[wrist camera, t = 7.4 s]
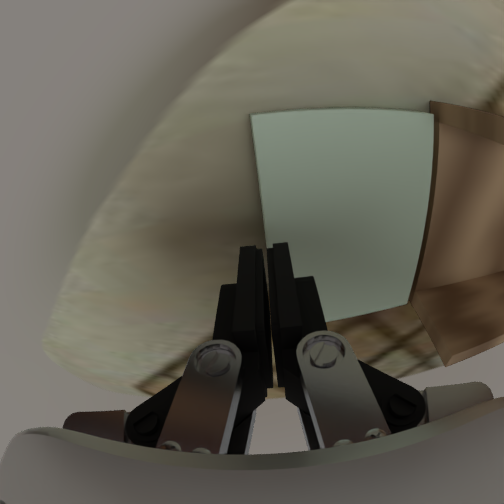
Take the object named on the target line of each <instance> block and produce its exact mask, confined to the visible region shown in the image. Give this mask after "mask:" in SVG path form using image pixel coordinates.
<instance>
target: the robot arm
mask: <svg viewBox="0 0 504 504" xmlns="http://www.w3.org/2000/svg"><path fill="white" fill-rule="evenodd" d="M267 260H268V277H269V296H270V307H269V299H268V291H267V283H266V275H265V267H264V259H263V252H262V249H256V245H254V246H245V247H240V254H239V264H238V275H237V283H236V284H225V285H222V286H221V289H220V295H219V301H218V307H217V314H216V320H215V326H214V333H213V340H211V341H208V342H205V343H203V344H201V345H200V346H198V347H197V348H196V349H195V350H194V351H193V352H192V354H191V356H190V358H189V360H188V363H187V365H186V368H185V370H184V373H183V376H181V377H180V378H178V379H177V380H176V381H174V382H173V383H171V384H170V385H168V386H167V387H166V388H164V389H163V390H161V391H160V392H158V393H157V394H155V395H154V396H152V397H151V398H149V399H148V400H146V401H145V402H143V403H142V404H140V405H139V406H137V407H136V408H135V409H134V410H132V411H131V412H126V411H125V410H114V411H93V412H76V413H72V414H71V415H69V416H68V417H67V419H66V420H65V422H64V425H63V429H62V428H55V427H38V428H31V429H27V430H24V431H21V432H19V433H17V434H16V435H15V436H14V437H13V438H12V440H11V441H10V442H9V444H8V446H7V448H6V450H5V452H4V455H3V457H2V459H1V462H0V504H504V397H500V398H496V399H494V398H493V394H492V392H491V390H490V388H489V387H488V386H487V385H486V384H483V383H482V382H470V383H463V384H455V385H447V386H437V387H426V389H425V390H424V391H418V390H416V389H414V388H413V387H412V386H409V385H407V384H405V383H403V382H401V381H399V380H397V379H395V378H393V377H391V376H389V375H387V374H385V373H383V372H381V371H379V370H377V369H375V368H373V367H371V366H369V365H367V364H365V363H363V362H362V361H360V360H358V359H357V358H356V356H355V354H354V352H353V350H352V348H351V346H350V344H349V342H348V341H347V340H346V338H344V337H343V336H341V335H340V334H338V333H335V332H332V331H328V330H327V326H326V322H325V318H324V314H323V310H322V306H321V302H320V298H319V294H318V290H317V287H316V283H315V279H314V277H313V276H307V277H298V278H294V273H293V268H292V262H291V257H290V252H289V246H288V242H283V243H273V248H267ZM270 315H271V323H270ZM271 330H272V339H273V347H274V355H275V364H276V372H277V380H278V387H285V396H286V399H287V400H288V401H289V402H291V403H293V404H294V405H295V406H297V410H298V414H299V418H300V421H301V425H302V429H303V433H304V436H305V440H306V444H307V447H308V451H302V452H292V453H278V454H257V455H248V453H249V448H250V443H251V438H252V433H253V428H254V423H255V417H256V408H257V407H258V406H260V405H261V404H262V403H263V402H264V401H265V397H267V388H273V368H272V345H271Z"/></svg>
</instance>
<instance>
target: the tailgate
mask: <svg viewBox="0 0 504 504" xmlns="http://www.w3.org/2000/svg"><path fill="white" fill-rule="evenodd" d="M249 115H250V122H251V129H252V137H253V144H254V152H255V159H256V167H257V174H258V182H259V190H260V198H261V206H262V214H263V222H264V230H265V239H266V247H267V248H273V243H283V242H288V246H289V252H290V257H291V262H292V268H293V273H294V278H298V277H307V276H313V277H314V279H315V283H316V287H317V290H318V294H319V298H320V302H321V306H322V310H323V314H324V318H325V322H329V321H334V320H339V319H344V318H349V317H354V316H358V315H363V314H367V313H372V312H376V311H380V310H385V309H389V308H393V307H397V306H401V305H405V304H407V302H408V298H409V295H410V291H411V287H412V283H413V279H414V275H415V271H416V267H417V263H418V258H419V254H420V249H421V244H422V239H423V233H424V228H425V222H426V215H427V209H428V201H429V193H430V184H431V174H432V161H433V141H434V114H430V113H426V112H421V111H414V110H402V109H387V108H358V107H338V108H308V109H292V110H280V111H269V112H260V113H252V114H249Z"/></svg>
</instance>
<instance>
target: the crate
mask: <svg viewBox="0 0 504 504" xmlns="http://www.w3.org/2000/svg"><path fill="white" fill-rule="evenodd" d="M430 114H434V141H433V161H432V174H431V184H430V193H429V201H428V209H427V215H426V222H425V228H424V233H423V239H422V244H421V249H420V254H419V258H418V263H417V267H416V271H415V275H414V279H413V283H412V287H411V291H410V295H409V298H408V299H409V301H410V302H411V304H412V306H413V308H414V309H415V311H416V313H417V314H418V316H419V318H420V320H421V322H422V323H423V325H424V327H425V329H426V331H427V332H428V334H429V336H430V338H431V340H432V342H433V344H434V346H435V348H436V350H437V351H438V353H439V355H440V357H441V359H442V361H443V364H444V366H445V367H447V366H449V365H452V364H455V363H457V362H460V361H463V360H465V359H467V358H470V357H472V356H475V355H477V354H479V353H481V352H484V351H486V350H488V349H490V348H492V347H495V346H497V345H499V344H501V343H503V342H504V117H503V116H499V115H496V114H492V113H488V112H484V111H480V110H476V109H472V108H467V107H463V106H458V105H453V104H447V103H441V102H435V101H430Z"/></svg>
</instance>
